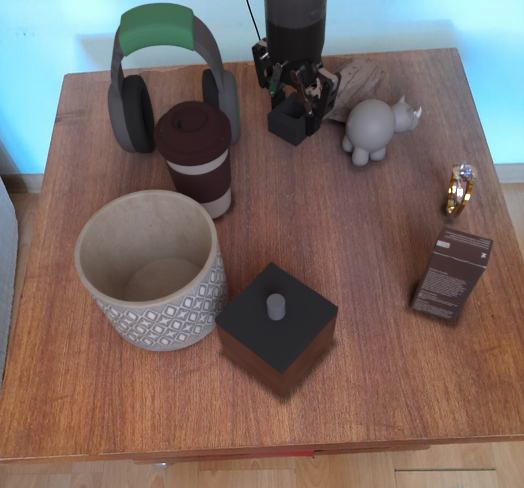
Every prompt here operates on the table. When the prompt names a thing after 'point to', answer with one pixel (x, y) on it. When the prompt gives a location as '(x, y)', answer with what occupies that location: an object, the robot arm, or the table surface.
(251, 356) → the stand
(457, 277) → the box
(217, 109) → the coffee cup
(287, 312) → the base pad
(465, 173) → the ring
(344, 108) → the stone
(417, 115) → the chubby cartoon animal
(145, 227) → the planter
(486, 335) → the table surface
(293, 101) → the top pad
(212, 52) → the headphones
